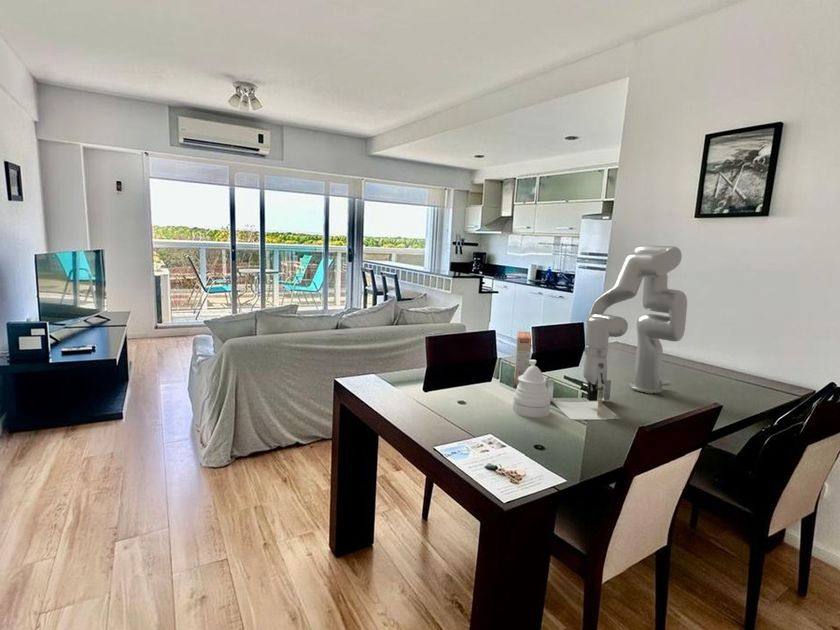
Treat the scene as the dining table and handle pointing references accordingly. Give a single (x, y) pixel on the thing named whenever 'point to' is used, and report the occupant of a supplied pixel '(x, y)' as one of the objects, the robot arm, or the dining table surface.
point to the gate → (600, 399)
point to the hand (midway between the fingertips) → (591, 400)
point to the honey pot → (532, 393)
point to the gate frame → (605, 398)
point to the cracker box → (522, 354)
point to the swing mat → (584, 410)
